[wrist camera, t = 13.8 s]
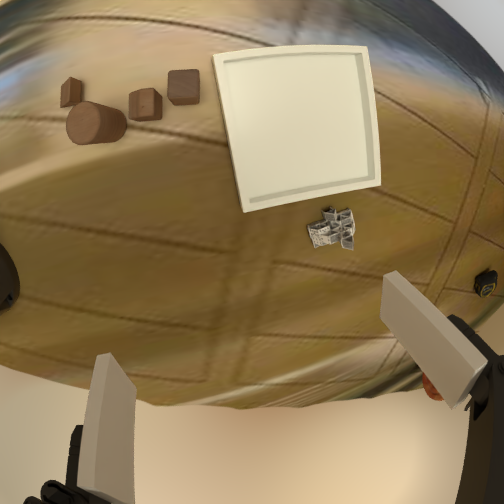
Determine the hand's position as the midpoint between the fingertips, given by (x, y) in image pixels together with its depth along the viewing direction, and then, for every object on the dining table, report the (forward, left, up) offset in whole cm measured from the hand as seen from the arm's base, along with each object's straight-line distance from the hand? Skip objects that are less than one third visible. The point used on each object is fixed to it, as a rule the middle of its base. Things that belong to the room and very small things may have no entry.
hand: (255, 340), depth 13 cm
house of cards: (+16, -7, -29) cm, 34 cm away
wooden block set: (-9, +13, -28) cm, 32 cm away
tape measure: (+62, -31, -28) cm, 75 cm away
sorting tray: (+13, +7, -28) cm, 32 cm away
